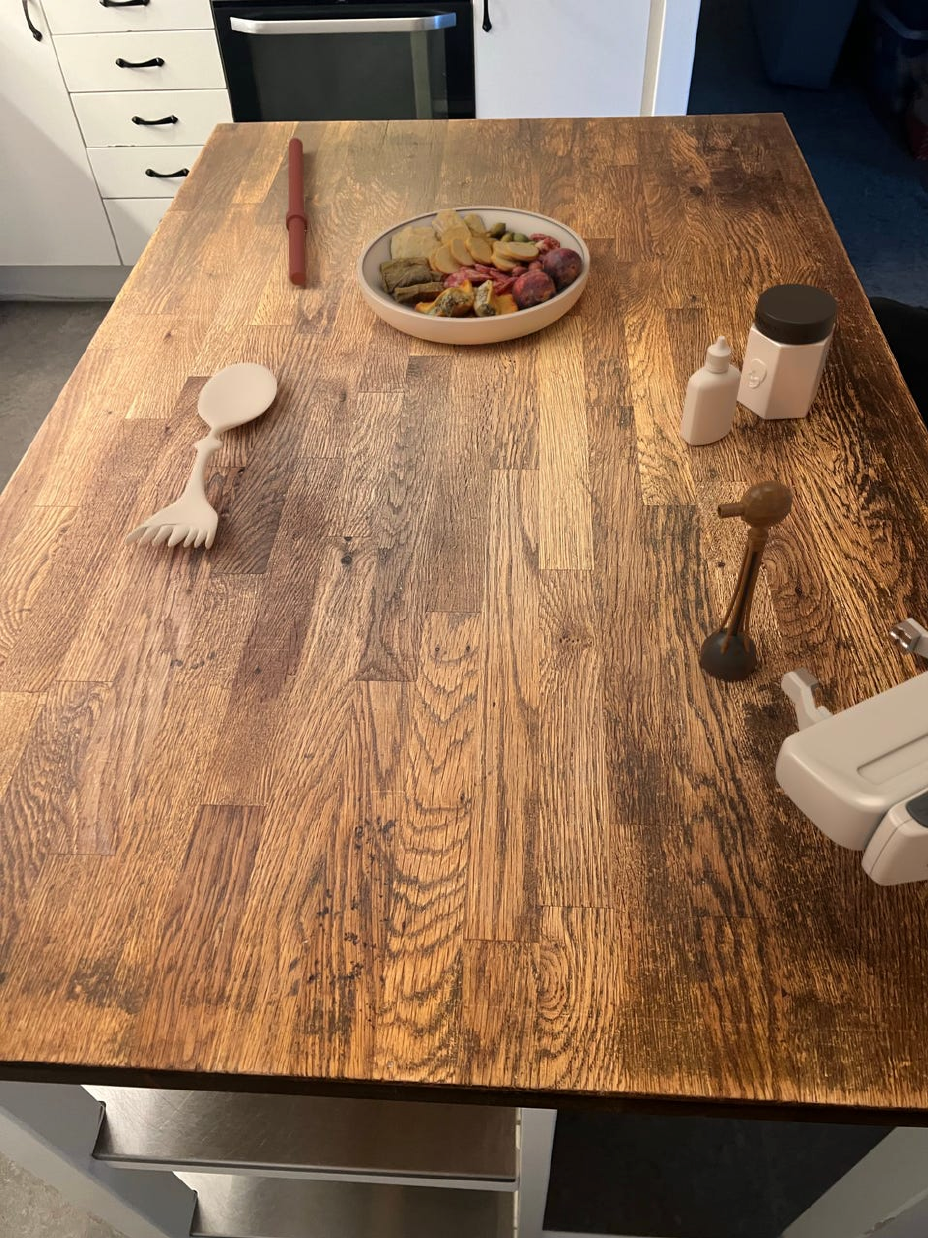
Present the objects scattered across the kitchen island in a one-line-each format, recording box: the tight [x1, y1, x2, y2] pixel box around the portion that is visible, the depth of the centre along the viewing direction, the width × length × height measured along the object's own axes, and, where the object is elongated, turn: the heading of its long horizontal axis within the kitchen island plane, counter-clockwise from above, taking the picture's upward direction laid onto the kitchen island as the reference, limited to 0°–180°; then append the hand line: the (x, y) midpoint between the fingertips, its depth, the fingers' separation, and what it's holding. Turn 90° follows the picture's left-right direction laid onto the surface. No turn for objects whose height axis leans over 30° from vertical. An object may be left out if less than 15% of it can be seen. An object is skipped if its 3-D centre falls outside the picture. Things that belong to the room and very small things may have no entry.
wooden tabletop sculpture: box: [699, 480, 794, 682], centre depth 77 cm, size 6×5×20 cm
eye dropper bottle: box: [679, 335, 741, 446], centre depth 101 cm, size 4×6×12 cm
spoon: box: [124, 362, 278, 550], centre depth 105 cm, size 9×32×4 cm, turn 174°
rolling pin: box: [285, 137, 309, 286], centre depth 144 cm, size 45×3×3 cm, turn 7°
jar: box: [737, 283, 839, 421], centre depth 105 cm, size 9×8×12 cm
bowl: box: [356, 205, 591, 346], centre depth 125 cm, size 30×30×8 cm
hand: (845, 650), depth 67 cm, fingers open, 8 cm apart
